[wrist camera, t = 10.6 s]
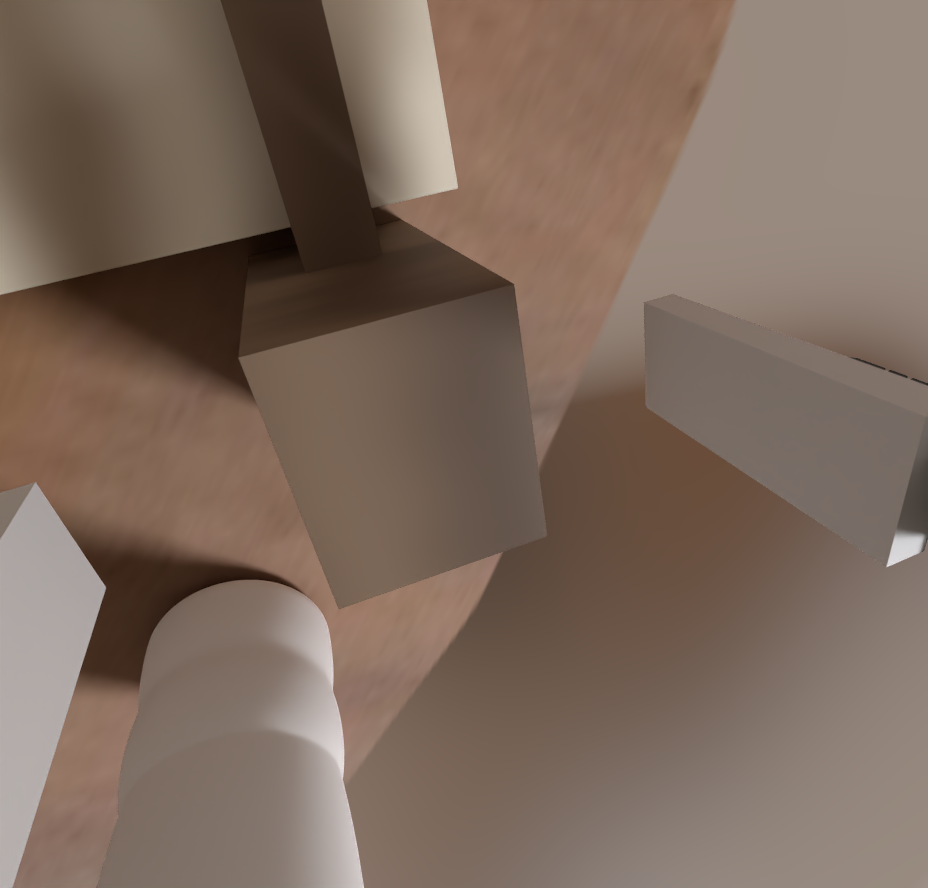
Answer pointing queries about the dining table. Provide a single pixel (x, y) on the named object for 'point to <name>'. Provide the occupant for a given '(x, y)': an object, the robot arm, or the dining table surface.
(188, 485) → the dining table surface
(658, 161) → the dining table surface
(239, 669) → the water bottle
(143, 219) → the board
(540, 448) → the dining table surface
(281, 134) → the block with long handle
